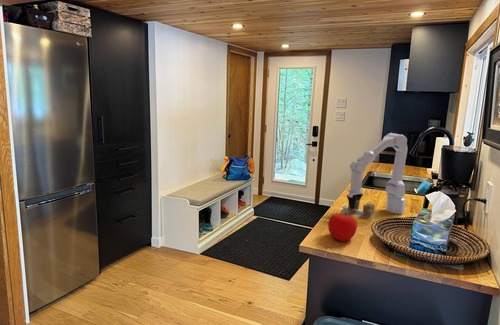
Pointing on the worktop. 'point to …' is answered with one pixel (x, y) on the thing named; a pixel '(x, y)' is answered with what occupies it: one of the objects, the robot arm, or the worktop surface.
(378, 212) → the worktop surface
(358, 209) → the brown notched block
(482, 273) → the worktop surface
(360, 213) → the rail
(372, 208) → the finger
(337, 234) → the red apple
